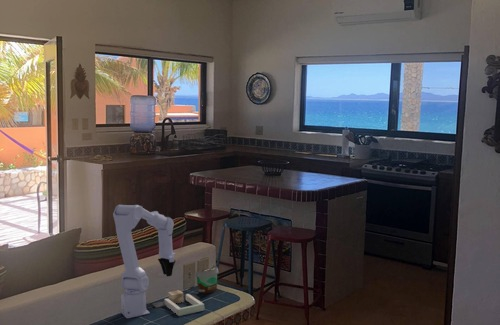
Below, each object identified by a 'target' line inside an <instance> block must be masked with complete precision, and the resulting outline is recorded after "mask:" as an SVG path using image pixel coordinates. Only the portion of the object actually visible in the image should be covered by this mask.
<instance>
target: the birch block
mask: <svg viewBox="0 0 500 325" xmlns="http://www.w3.org/2000/svg"><path fill="white" fill-rule="evenodd" d="M184 294H185V293H184V292H183V291H181V290H173V291H168V292H167V297H168V299H169V300H171V301H172V302H173V303H175V304H176V303H177V304H180V303H181V302H182V303H184V302H185V298H184V297H185V296H184ZM182 303H181V304H182ZM177 304H176V305H177Z"/></svg>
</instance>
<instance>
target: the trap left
mask: <svg viewBox="0 0 500 325" xmlns="http://www.w3.org/2000/svg"><path fill="white" fill-rule="evenodd" d="M151 305H152V306H154V307H155V309H159V308H163V307H167V306H166V305H165V302H164V301H158V302H153V303H151Z"/></svg>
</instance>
